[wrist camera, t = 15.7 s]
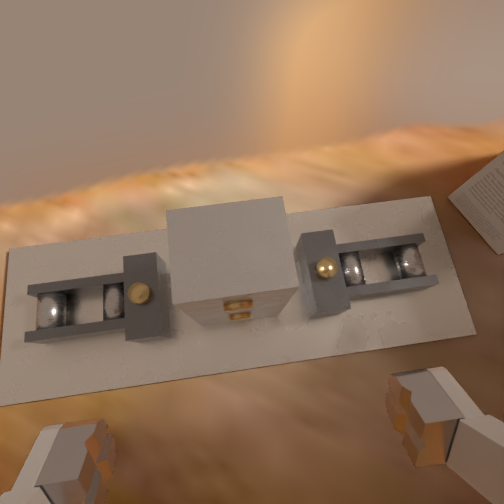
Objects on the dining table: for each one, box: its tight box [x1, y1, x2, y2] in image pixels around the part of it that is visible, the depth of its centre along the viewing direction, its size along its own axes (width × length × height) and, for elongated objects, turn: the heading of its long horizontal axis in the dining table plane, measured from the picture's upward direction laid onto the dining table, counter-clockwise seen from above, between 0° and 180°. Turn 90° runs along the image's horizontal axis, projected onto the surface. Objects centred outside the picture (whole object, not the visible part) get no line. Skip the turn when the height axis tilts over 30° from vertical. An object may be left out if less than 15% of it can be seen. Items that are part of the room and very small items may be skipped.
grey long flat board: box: [0, 196, 477, 406], centre depth 21 cm, size 30×10×4 cm, turn 98°
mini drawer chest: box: [166, 196, 299, 326], centre depth 18 cm, size 5×4×9 cm
